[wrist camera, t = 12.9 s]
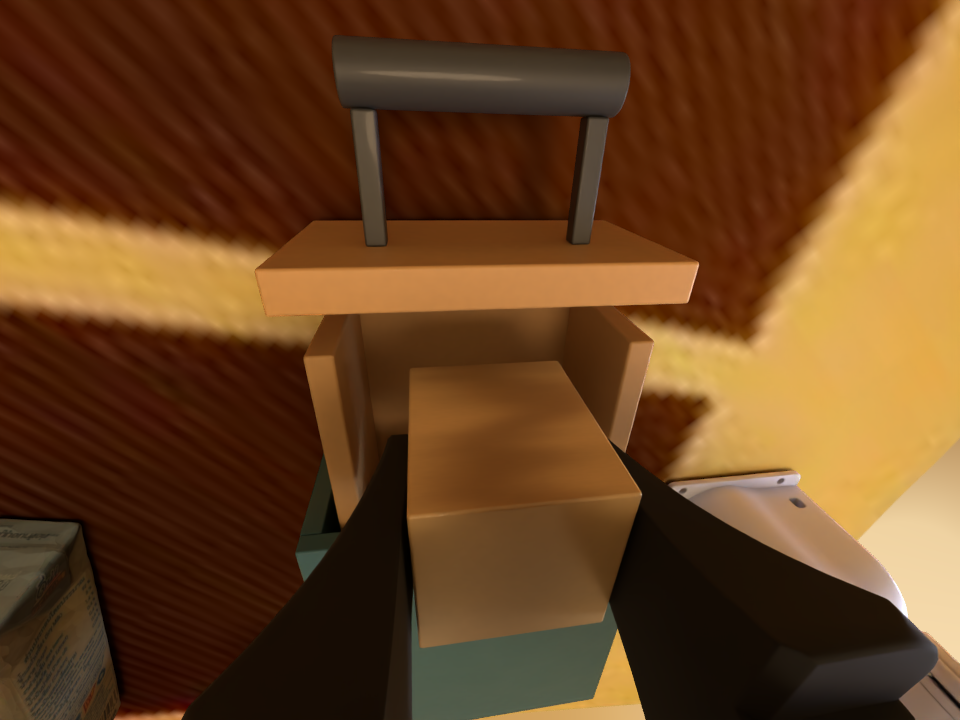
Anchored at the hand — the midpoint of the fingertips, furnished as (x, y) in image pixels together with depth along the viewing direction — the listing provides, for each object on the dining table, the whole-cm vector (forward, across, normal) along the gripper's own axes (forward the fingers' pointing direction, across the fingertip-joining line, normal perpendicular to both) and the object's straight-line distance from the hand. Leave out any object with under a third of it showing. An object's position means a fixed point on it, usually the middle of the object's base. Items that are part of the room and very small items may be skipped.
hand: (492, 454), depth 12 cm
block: (+1, 0, 0) cm, 1 cm away
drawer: (+7, 0, -1) cm, 7 cm away
